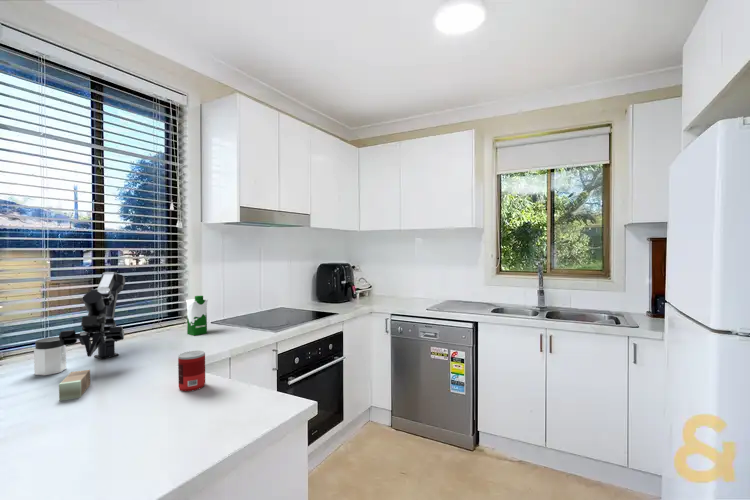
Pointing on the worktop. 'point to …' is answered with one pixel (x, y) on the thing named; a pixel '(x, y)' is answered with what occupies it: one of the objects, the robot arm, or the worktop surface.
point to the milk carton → (197, 316)
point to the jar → (49, 356)
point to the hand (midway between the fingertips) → (88, 356)
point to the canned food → (191, 370)
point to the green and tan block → (74, 385)
